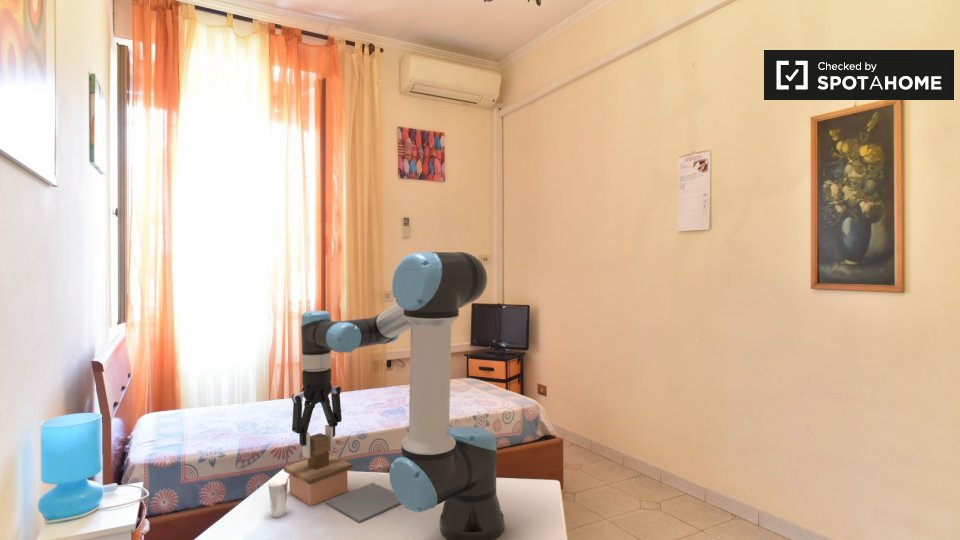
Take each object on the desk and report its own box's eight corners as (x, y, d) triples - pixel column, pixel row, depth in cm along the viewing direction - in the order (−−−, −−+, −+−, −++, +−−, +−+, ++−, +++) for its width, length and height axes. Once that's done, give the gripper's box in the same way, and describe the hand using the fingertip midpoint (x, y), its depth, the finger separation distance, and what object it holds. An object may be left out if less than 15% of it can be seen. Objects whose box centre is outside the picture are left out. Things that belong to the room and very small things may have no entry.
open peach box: (347, 491, 143) (347, 469, 142) (310, 505, 134) (310, 482, 134) (325, 479, 150) (325, 459, 150) (289, 492, 142) (289, 470, 142)
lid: (352, 468, 143) (352, 435, 142) (309, 484, 133) (308, 448, 133) (326, 457, 151) (325, 425, 151) (283, 471, 141) (283, 437, 141)
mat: (407, 501, 136) (407, 499, 136) (359, 523, 125) (359, 520, 125) (373, 484, 146) (373, 482, 146) (325, 503, 135) (325, 501, 135)
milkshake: (285, 519, 127) (284, 479, 127) (265, 518, 128) (264, 477, 128) (294, 510, 132) (294, 471, 131) (275, 509, 133) (274, 470, 132)
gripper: (339, 361, 151) (341, 440, 152) (276, 372, 137) (277, 459, 137) (354, 364, 146) (356, 446, 147) (290, 376, 132) (291, 467, 132)
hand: (318, 452), depth 142 cm, fingers open, 6 cm apart
